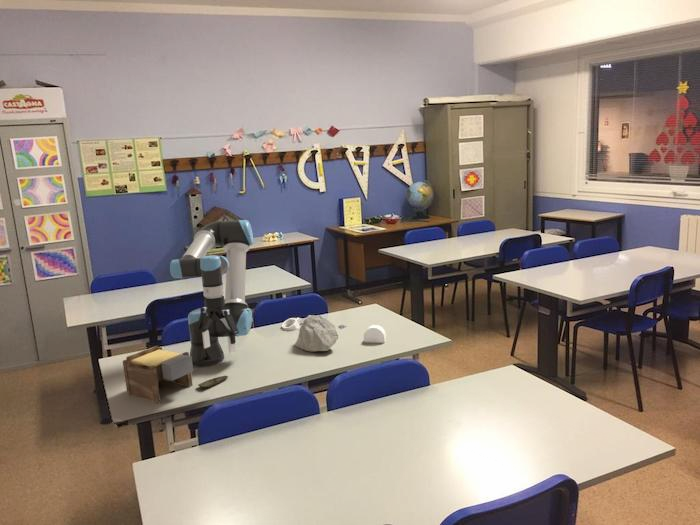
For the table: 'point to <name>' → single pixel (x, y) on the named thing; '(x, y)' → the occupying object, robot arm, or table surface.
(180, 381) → the wooden box
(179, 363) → the trapdoor
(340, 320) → the table surface
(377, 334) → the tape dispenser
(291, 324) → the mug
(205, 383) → the stone
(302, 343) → the grey boulder
